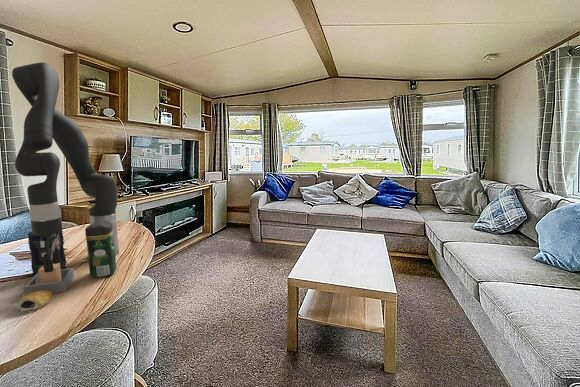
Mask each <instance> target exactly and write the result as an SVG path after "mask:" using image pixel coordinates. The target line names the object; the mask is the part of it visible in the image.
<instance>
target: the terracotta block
mask: <svg viewBox="0 0 580 387" xmlns="http://www.w3.org/2000/svg"><path fill="white" fill-rule="evenodd" d="M53 268H54V270H53V271H52V272H47V273H46V272H44V266H42V267H41V268H40V269H39V270H38V272H39V280H40V284H44V283H52V282H59V281H62V279H61V270H60V263H58V264H53Z"/></svg>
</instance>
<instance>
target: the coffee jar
mask: <svg viewBox="0 0 580 387" xmlns="http://www.w3.org/2000/svg"><path fill="white" fill-rule="evenodd" d="M112 226H113V225H112V223H110V222H108V221H95V222H94V223H92V224H90V223H89V225H87V227H85V228H84V232H85V240H86V246H87V247H86V248H87V256H88V268H89V276H90V278H92V279H93V278H97V279H100V278H101V279H102V278H106V277H110V276H113V275H114V273H115V272H117V260H116V259H117V258H116V255H115V248H114V238H113V227H112Z"/></svg>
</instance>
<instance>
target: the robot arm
mask: <svg viewBox="0 0 580 387" xmlns="http://www.w3.org/2000/svg"><path fill="white" fill-rule="evenodd" d="M11 75H12V76H11V77H12V79H13V81H14V83H15V85H16V87H17V88H18V90H19V91H20V93H21V94H22V95H23V97H24V98H25V99H26V100H27V102H28V103H29V104H30V106H31V108H30V109H29V111H28V112H27V113H26V117H25V118H24V121H23V123H24V124H23V140H22V143H21V147H20V148H19V151H18V153H17V155H16V158H15V160H14V166H15V170H16V171H17V173H18V174H19V175H21V176H23V177H40V176H41V177H43V176H46V178H45V180H44V181H42V182H38V183H33V184H30V185H29V186H28V187H27V192H26V193H27V198H28V205H29V209H28V210H29V211H28V213H29V219H30V226H31V232H32V233H33V234H35V235H41V240H40V241H38V242H37V246H38V254H39V261H43V266H44V272H46V273H47V272H52V271H53V270H54V268H53V263H57V262H60V254H59V251H58V250H60V247H61V244H60V237H59V231H61V230H62V231H63V223H62V214H61V207H60V205H59V204H60V203H59V199H58V191H57V186H58V185H57V184H58V177H59V173H60V168H61V160H60V158H59V156H58V155H57V154H56V153H54V152H50V151H47V152H44V151H45V150H48V149H50V148H51V147H52V146H53V141H54V143H55V145H56V146H57V147H58V149H59V150H60V151H61V153H62V155H63V156H64V158H65V159H66V161H67V163H68V164H69V166H70V168H71V169H72V172H74V175H75V177H76V179H77V180H78V183H79V186H80V188H81V189H82V191H83V193H85V195H87V196H89V197H91V198H94V202H95V203H94V205H93V206H91V207H89V209H88V214H89V225H90V224H92V223H94V222H95V221H108V222H110V223H112V225H113V226H112V227H113V238H114V248H115V256H118V254H120V248H119V236H118V234H119V233H118V227H117V226H118V225H117V223H118V222H117V215H116V211H117V210H116V209H117V207H118V192H117V191H118V188H117V183H116V180H115V179H114V177H112V176H111V175H108V174H98V173H97V171H96V169H95V168H94V167H93V166H94V165H92V163H91V160H90V154H89V143H88V140H87V139H86V137H85V134H84V133H83V131H82V129H81V128H80V126H79V125H78V124H77V123H76V122H75V121H73V120H72V118H70V117H68V116H66V115H65V114H63V113H62V112H60V111H59V110H57V109H56V104H57V99H58V96H59V90H60V78H59V75H58V74H57V72H56V70H55V68H53V66H52V65H50V64H49V63H47V62H35V63H30V64H25V65H21V66H17V67H14V68H13V69H12V72H11ZM40 151H41V152H40ZM42 151H43V152H42ZM45 254H47V256H45Z"/></svg>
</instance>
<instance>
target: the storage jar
mask: <svg viewBox="0 0 580 387" xmlns="http://www.w3.org/2000/svg"><path fill="white" fill-rule="evenodd" d="M27 237H28V238H27V239H28V243H27V244H28V246H29V250H30V255H31V270H32V271H31V272H32V276H33V277H34V276H35V275H36V274H37V273H38V270H39V269H40V268H41V267H42V266H43V261H39V254H38V246H37V242H38V241H40V240H41V235H35V234H33V233H32V231H30V232H28V233H27ZM59 237H60V244H61V247H60V250H58V251H59V254H60V262H57V263H53V264H58V263H60V270H62V269H68V268H67V259H66V254H65V249H64V244H65V240H64V239H65V238H64V234H63V229H62V230H61V231H59ZM45 256H47V254H45Z"/></svg>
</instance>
